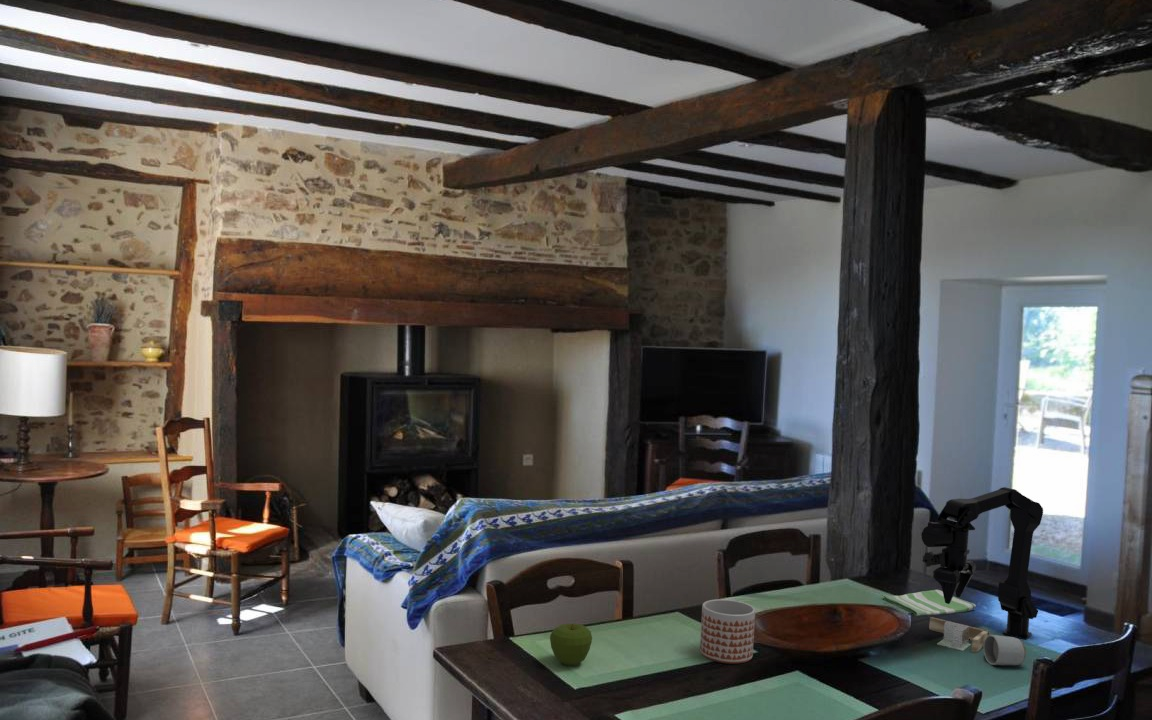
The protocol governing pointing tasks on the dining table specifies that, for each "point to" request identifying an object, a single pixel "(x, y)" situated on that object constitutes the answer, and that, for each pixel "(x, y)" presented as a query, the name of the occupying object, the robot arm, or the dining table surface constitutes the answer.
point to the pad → (949, 644)
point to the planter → (727, 631)
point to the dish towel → (929, 603)
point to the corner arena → (974, 633)
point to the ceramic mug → (1004, 650)
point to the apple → (571, 643)
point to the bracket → (956, 634)
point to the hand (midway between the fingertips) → (952, 600)
